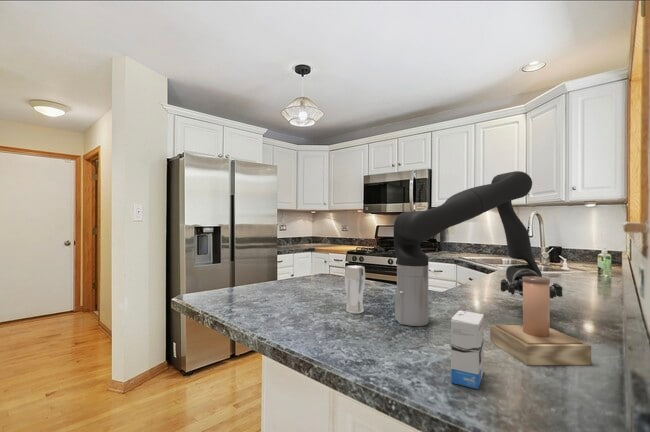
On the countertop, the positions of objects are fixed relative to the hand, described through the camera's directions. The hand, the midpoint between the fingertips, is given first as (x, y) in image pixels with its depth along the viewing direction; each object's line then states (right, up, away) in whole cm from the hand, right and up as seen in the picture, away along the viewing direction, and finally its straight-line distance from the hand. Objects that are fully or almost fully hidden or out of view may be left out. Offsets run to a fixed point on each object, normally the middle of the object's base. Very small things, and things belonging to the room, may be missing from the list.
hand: (532, 292), depth 83 cm
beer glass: (-44, -12, +25) cm, 52 cm away
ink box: (-26, -12, -21) cm, 36 cm away
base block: (-4, -12, -9) cm, 15 cm away
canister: (-4, -7, -8) cm, 12 cm away
